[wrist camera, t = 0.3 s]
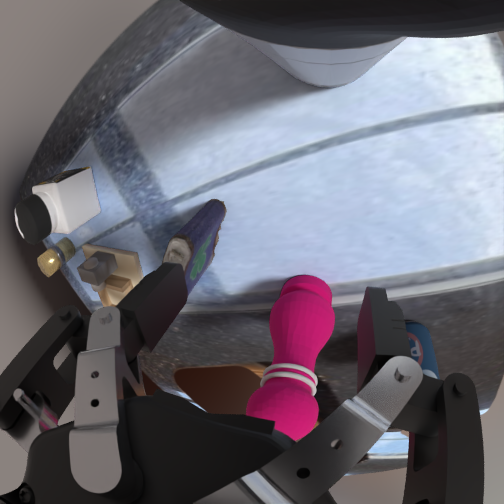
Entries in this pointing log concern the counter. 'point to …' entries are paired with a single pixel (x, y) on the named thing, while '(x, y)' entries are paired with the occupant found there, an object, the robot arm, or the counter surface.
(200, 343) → the counter surface
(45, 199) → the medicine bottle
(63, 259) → the cylinder
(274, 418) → the pepper mill
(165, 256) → the flask
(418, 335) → the soda can
